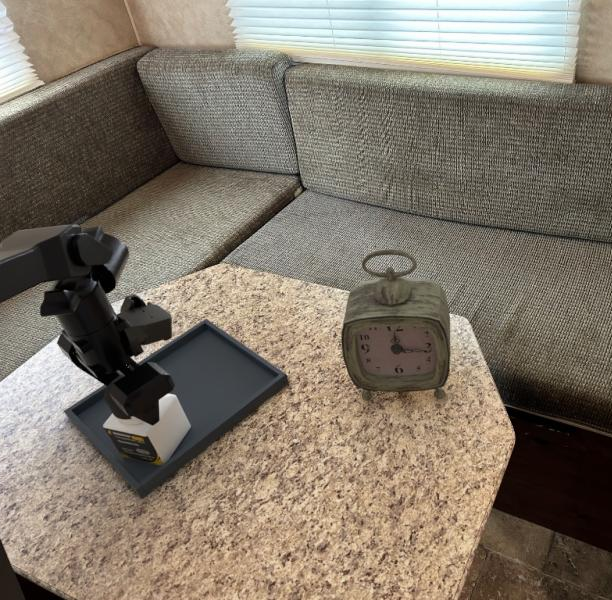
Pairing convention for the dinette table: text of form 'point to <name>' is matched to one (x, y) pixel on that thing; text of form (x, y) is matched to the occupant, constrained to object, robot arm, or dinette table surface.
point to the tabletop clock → (397, 332)
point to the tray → (189, 399)
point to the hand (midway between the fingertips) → (137, 406)
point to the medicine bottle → (147, 430)
